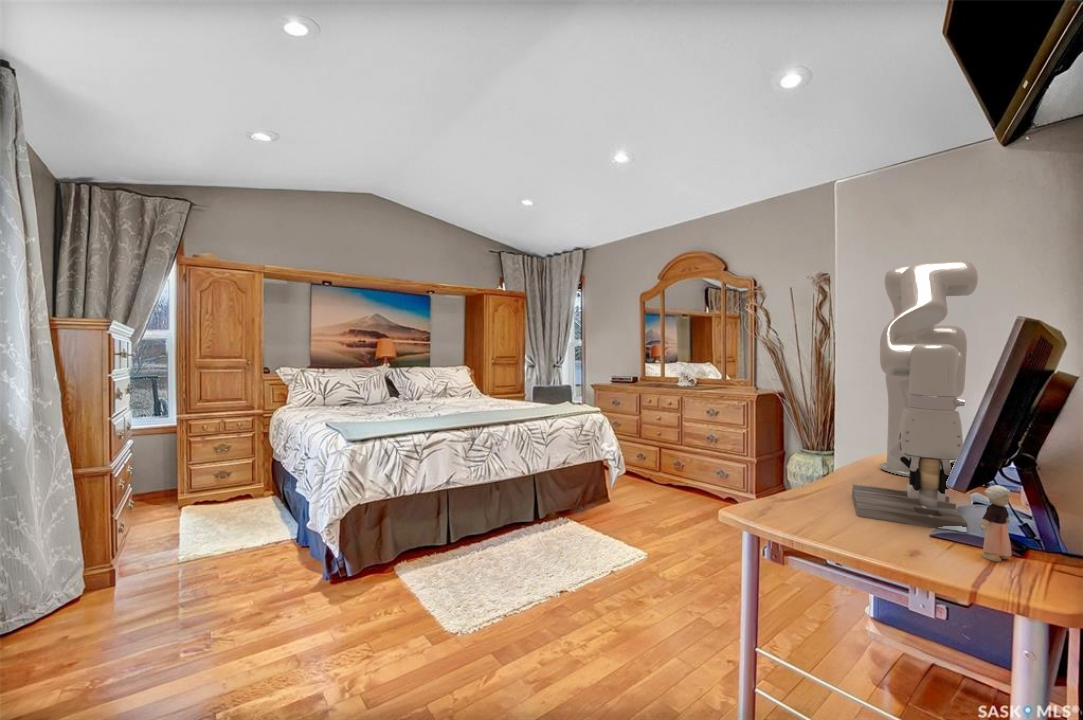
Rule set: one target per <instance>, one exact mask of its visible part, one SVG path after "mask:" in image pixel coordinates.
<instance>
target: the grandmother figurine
mask: <svg viewBox="0 0 1083 720" xmlns="http://www.w3.org/2000/svg"><path fill="white" fill-rule="evenodd" d="M983 493H984V495H986V497H987V498H988V501H989V503H991V504H989V505H988V506H987V507H986V510H985V513H984V515H983V517H982V519H981V523H980V525H979V529H980V530H981V531H985V535H984V538H983V548H982V549H983V552H981V553H980V556H981V557H983V558H985V559H987V560H989V561H991V562H996V563H997V562H1000V563H1001V562H1002V560H1008V559H1009V557H1012V555H1013V554H1012V547H1011V546H1012V545H1011V540H1010V536H1009V535H1010V534H1009V529H1008V525H1009V524H1010V523H1011V521H1010V516H1009V511H1008V509H1007V505H1008V504H1009V501H1010V499H1009V497H1010V496H1011V491H1010V489H1008V488H1007V487H1005V486H1002V485H998V484H994V485H991V486H989V487H987V488H986V489H985V490H984V491H983Z"/></svg>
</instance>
